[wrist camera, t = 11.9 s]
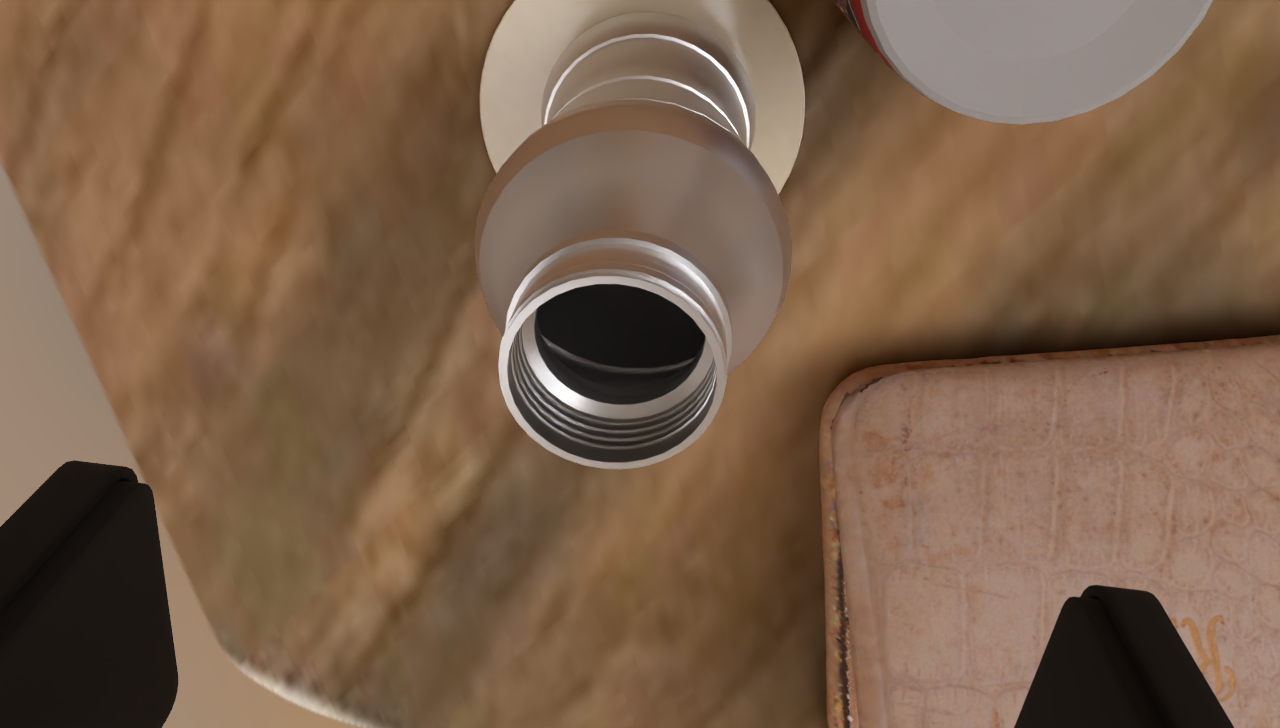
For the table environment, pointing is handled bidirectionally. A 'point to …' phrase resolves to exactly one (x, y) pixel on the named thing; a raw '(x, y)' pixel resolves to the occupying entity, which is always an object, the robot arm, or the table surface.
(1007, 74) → the canned food
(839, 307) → the table surface
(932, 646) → the case
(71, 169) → the table surface
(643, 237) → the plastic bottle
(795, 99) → the coaster
